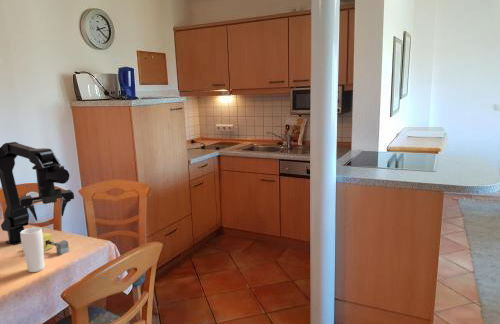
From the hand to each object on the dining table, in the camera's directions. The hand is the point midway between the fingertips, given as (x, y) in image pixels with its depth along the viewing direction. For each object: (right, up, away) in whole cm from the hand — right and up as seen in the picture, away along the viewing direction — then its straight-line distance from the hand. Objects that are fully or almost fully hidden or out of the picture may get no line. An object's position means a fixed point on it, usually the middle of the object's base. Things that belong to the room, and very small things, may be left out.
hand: (49, 218), depth 147 cm
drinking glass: (+4, -16, -15) cm, 23 cm away
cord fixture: (-1, -13, +2) cm, 13 cm away
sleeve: (-3, -13, +2) cm, 13 cm away
